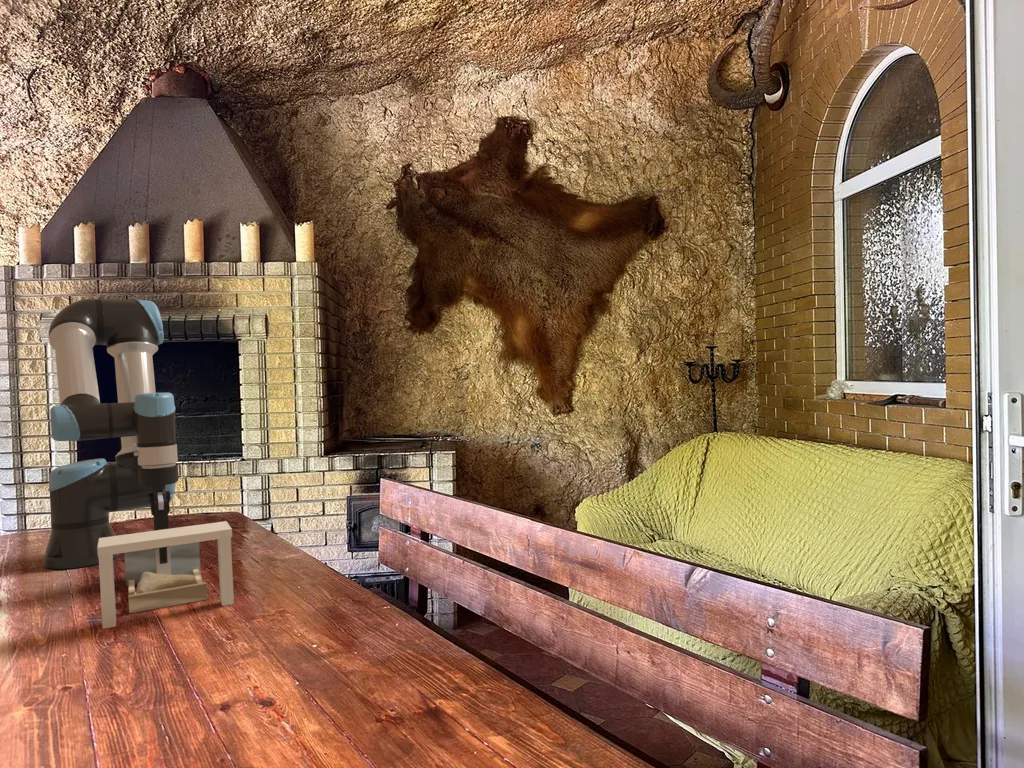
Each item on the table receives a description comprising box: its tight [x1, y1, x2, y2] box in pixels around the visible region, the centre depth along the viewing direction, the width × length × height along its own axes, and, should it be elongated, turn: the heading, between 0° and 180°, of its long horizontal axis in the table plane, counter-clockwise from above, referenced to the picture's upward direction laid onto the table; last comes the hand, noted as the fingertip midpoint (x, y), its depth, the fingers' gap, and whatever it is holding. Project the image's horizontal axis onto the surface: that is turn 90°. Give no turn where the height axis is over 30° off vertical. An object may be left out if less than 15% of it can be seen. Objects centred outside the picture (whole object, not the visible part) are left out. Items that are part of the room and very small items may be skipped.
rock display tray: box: [123, 542, 208, 614], centre depth 138 cm, size 23×14×9 cm, turn 29°
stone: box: [135, 572, 198, 594], centre depth 134 cm, size 11×6×5 cm, turn 139°
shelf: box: [97, 520, 235, 630], centre depth 124 cm, size 8×21×14 cm, turn 119°
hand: (163, 574), depth 147 cm, fingers closed on rock display tray, 4 cm apart
